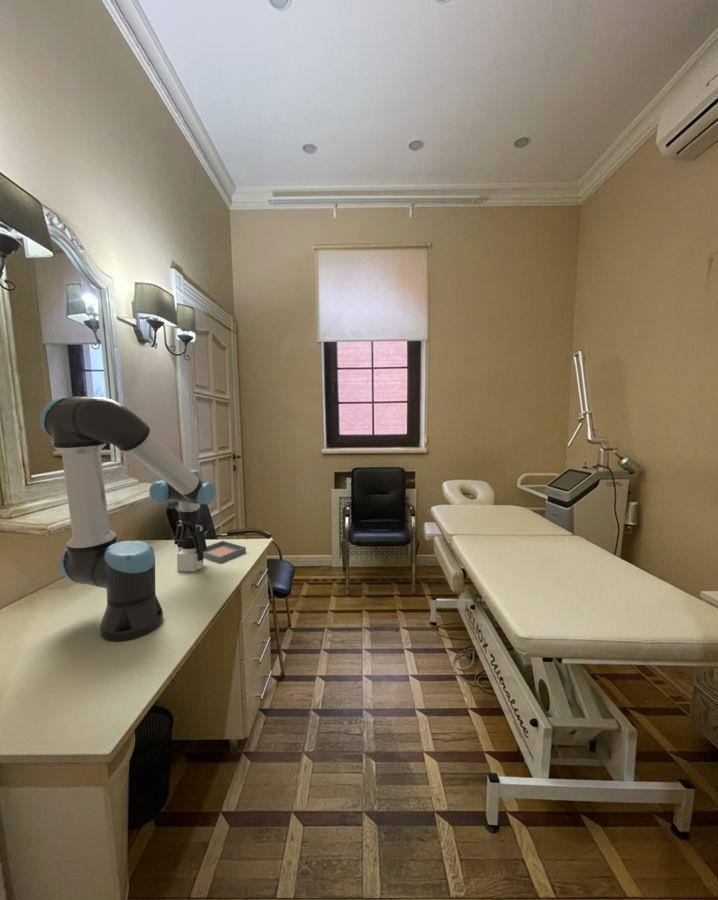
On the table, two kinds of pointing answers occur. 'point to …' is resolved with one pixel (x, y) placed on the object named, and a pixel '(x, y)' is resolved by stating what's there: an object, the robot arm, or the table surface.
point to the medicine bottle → (186, 556)
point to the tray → (223, 551)
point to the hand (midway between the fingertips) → (190, 565)
